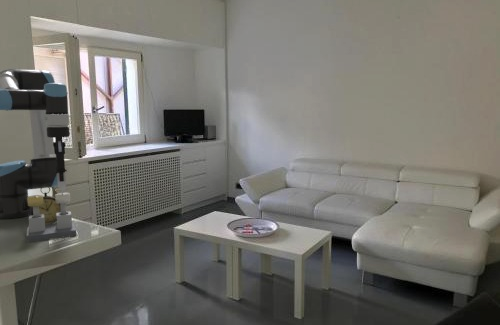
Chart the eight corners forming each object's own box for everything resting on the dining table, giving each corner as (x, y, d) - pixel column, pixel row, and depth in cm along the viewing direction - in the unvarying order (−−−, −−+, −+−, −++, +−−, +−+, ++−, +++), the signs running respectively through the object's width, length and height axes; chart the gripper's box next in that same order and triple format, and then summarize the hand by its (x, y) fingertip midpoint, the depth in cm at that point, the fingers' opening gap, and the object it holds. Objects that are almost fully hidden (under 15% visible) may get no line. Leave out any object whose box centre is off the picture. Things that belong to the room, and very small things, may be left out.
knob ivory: (56, 214, 150) (54, 193, 149) (70, 212, 152) (69, 191, 151) (56, 217, 146) (55, 195, 145) (71, 215, 148) (70, 194, 147)
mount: (27, 231, 150) (26, 213, 149) (73, 225, 158) (72, 208, 157) (26, 242, 138) (25, 222, 137) (76, 235, 145) (75, 216, 144)
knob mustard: (29, 217, 146) (27, 195, 145) (44, 215, 148) (42, 194, 147) (28, 220, 141) (27, 198, 140) (44, 218, 144) (42, 196, 143)
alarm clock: (32, 229, 153) (29, 188, 151) (32, 225, 158) (29, 185, 155) (63, 225, 158) (61, 185, 156) (62, 222, 163) (60, 183, 161)
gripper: (46, 126, 149) (50, 187, 152) (46, 127, 137) (51, 193, 140) (68, 125, 152) (71, 185, 155) (70, 126, 141) (74, 191, 144)
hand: (62, 189), depth 148 cm, fingers closed
